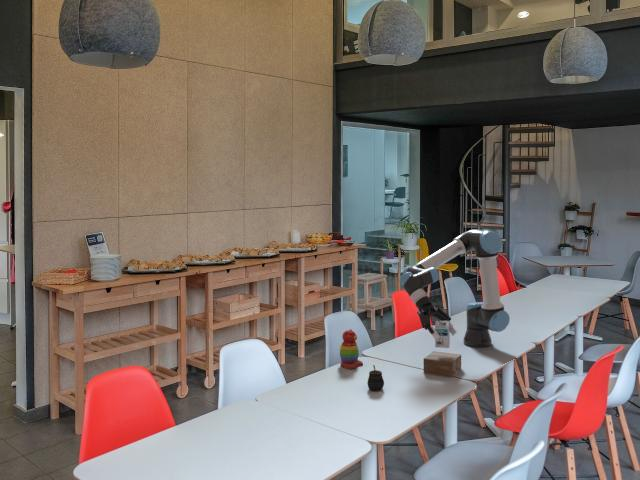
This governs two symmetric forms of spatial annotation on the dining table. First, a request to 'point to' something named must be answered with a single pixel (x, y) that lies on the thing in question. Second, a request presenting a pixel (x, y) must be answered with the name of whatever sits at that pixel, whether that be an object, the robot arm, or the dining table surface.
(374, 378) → the mate gourd
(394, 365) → the dining table surface
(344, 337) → the stacking bear
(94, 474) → the dining table surface
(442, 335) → the light bulb box
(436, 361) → the walnut block
